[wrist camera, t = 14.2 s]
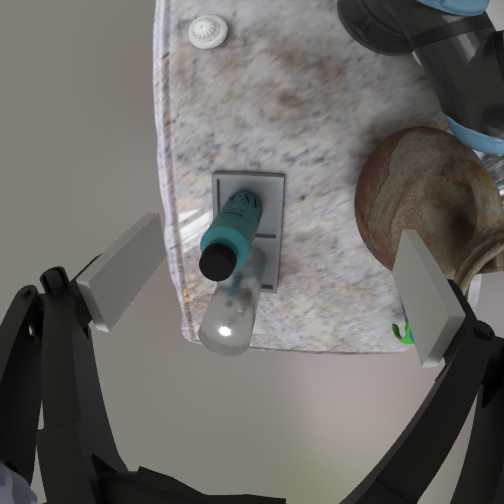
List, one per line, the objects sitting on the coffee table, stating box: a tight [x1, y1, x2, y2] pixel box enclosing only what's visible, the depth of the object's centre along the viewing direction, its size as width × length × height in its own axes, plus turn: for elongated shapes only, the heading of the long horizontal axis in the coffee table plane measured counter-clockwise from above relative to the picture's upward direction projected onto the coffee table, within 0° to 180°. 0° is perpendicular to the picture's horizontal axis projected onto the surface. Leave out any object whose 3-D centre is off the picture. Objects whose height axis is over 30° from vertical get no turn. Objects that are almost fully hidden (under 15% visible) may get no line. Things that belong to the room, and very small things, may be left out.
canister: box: [198, 245, 267, 356], centre depth 46 cm, size 7×7×20 cm
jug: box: [354, 127, 504, 300], centre depth 30 cm, size 22×22×30 cm
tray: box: [212, 171, 284, 293], centre depth 51 cm, size 12×22×2 cm, turn 179°
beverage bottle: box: [199, 192, 263, 282], centre depth 40 cm, size 6×7×20 cm
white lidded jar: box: [188, 14, 228, 49], centre depth 33 cm, size 6×6×7 cm
